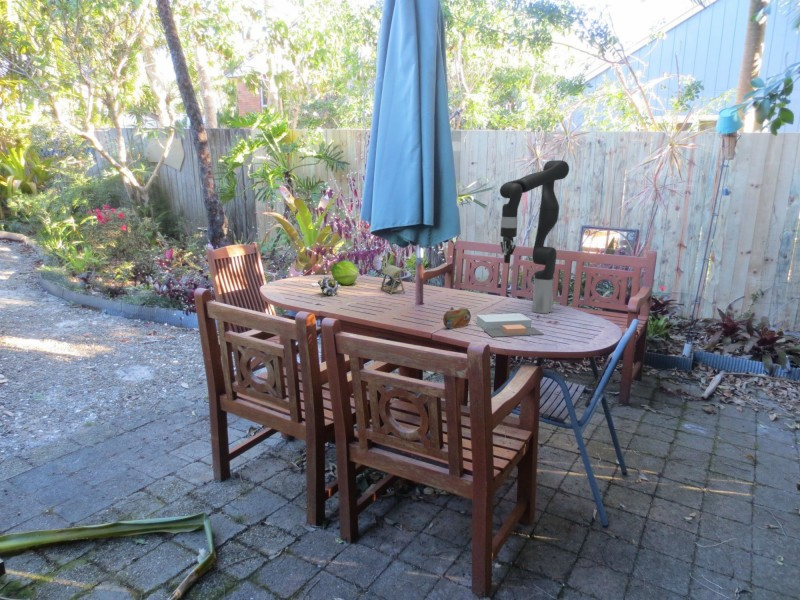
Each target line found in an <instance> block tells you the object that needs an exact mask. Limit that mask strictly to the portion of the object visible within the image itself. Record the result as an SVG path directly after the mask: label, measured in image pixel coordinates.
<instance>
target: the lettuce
mask: <svg viewBox="0 0 800 600" xmlns="http://www.w3.org/2000/svg"><path fill="white" fill-rule="evenodd" d="M359 273H360V272H359V269H358V267H357V265H356V264H354V263H353V262H352V261H348V260H346V261H345V260H341V261H339V262H336V263H334V264H333V265H332V268H331V277H332V278H333V279H336V280H335V281H337V283H338V284H339V285H343V286H348V285H349V286H350V285H352V284H354V283H355V282H356V280H357V279H358V277H359Z"/></svg>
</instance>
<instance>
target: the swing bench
mask: <svg viewBox="0 0 800 600" xmlns="http://www.w3.org/2000/svg"><path fill="white" fill-rule="evenodd" d="M406 271H407V270H406V269H404V268H400V267H398V266H396V265H393V264H392V265H391V264H390V265H387V266H385V267H384V268H383V269H382V270H381V271H380V273H381V274H383V275H384V276H383V279H382V281H381V282H380V283H381V286H380V290H381V291H385V292H386V293H389V295H391V296H392V295H393V293H395V292H396V293H397V292H402V293H403V294H406V291H405V287H404V282H403V280H402V277H401V274H400V273H401V272H406ZM387 276H388V277H389V280H387V281H386V279H387ZM385 281H386V283H385ZM400 286H401V289H399V287H400ZM385 288H388V289H391V290H390V291H389V290H387V289H385Z"/></svg>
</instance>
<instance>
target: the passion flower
mask: <svg viewBox="0 0 800 600" xmlns="http://www.w3.org/2000/svg"><path fill="white" fill-rule="evenodd" d="M335 280H336V279H334V278H333V276H331V277H329V276H328V277H327V275H325V274H324V277H323V279H322V280H321V279H319V280H318V281H317V284H318V285H319V287H320V290H321V292H322V294H324V292H325V293H326V294H327V295H328V296H330V295H331V296H332V297H334V296H335V295H336V294H335V293H337V294H338V293H340V291H339V288H340V287H341V284H339V283H338V282H337V281H335Z"/></svg>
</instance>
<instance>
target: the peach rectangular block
mask: <svg viewBox="0 0 800 600" xmlns="http://www.w3.org/2000/svg"><path fill="white" fill-rule="evenodd" d="M526 329H527V328H525V327H524V326H522V325H521V324H520V325H502V331H503V332H504V333H505V334H507V335H511V334H526Z"/></svg>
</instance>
